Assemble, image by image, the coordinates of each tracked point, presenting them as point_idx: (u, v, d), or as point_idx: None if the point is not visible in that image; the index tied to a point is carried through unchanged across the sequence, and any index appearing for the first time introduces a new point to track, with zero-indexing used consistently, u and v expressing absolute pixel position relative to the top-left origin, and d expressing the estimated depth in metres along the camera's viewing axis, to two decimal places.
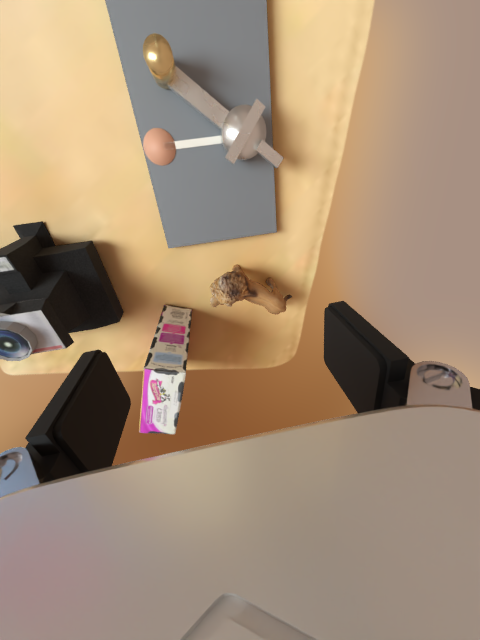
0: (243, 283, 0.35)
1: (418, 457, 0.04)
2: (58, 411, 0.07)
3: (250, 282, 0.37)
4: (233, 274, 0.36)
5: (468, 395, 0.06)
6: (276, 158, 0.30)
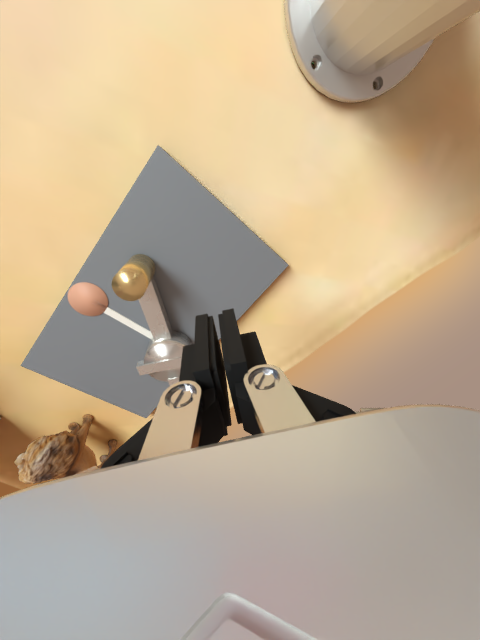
0: (67, 465, 0.30)
1: (418, 457, 0.04)
2: (208, 354, 0.08)
3: (79, 459, 0.32)
4: (66, 447, 0.30)
5: (288, 382, 0.07)
6: None
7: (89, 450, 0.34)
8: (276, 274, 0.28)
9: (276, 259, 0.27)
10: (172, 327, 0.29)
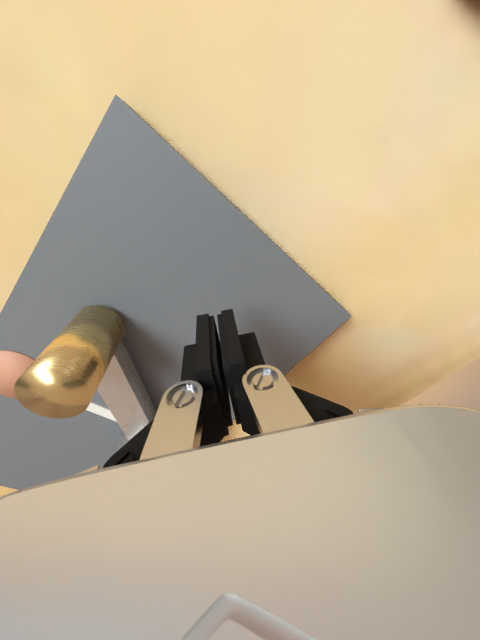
0: None
1: (418, 457, 0.04)
2: (209, 354, 0.08)
3: None
4: None
5: (286, 382, 0.07)
6: None
7: None
8: (330, 330, 0.17)
9: (333, 308, 0.16)
10: None
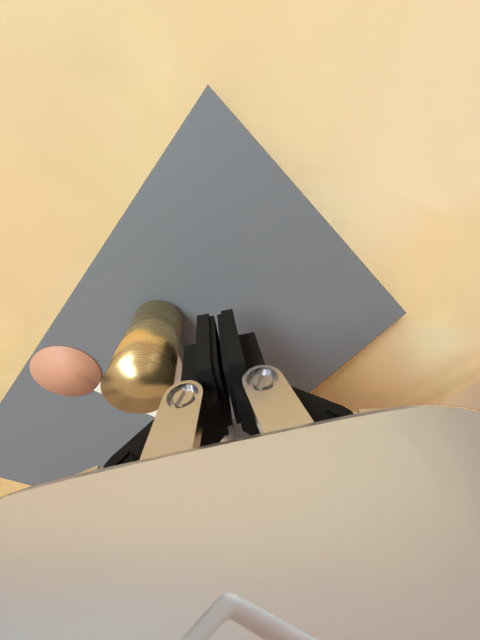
0: None
1: (418, 457, 0.04)
2: (210, 354, 0.08)
3: None
4: None
5: (286, 382, 0.07)
6: None
7: None
8: (383, 327, 0.17)
9: (389, 305, 0.16)
10: None
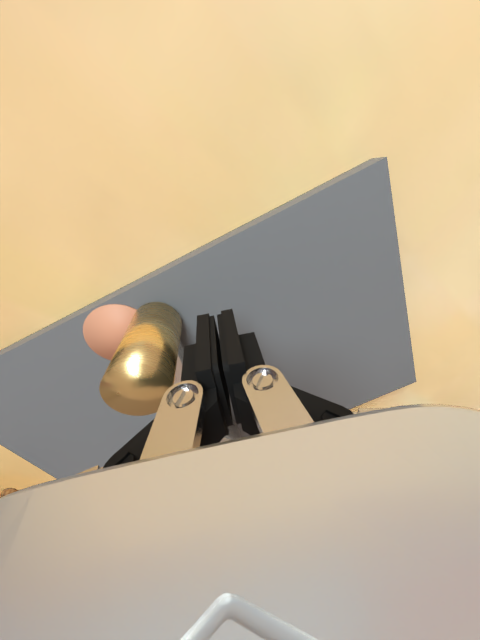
0: None
1: (418, 457, 0.04)
2: (210, 354, 0.08)
3: None
4: None
5: (286, 382, 0.07)
6: None
7: None
8: (395, 387, 0.20)
9: (409, 371, 0.19)
10: None
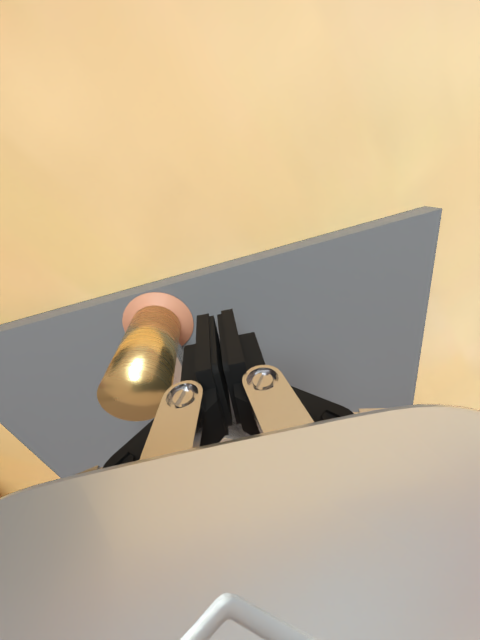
0: None
1: (418, 457, 0.04)
2: (210, 354, 0.08)
3: None
4: None
5: (286, 382, 0.07)
6: None
7: None
8: None
9: (408, 401, 0.20)
10: None
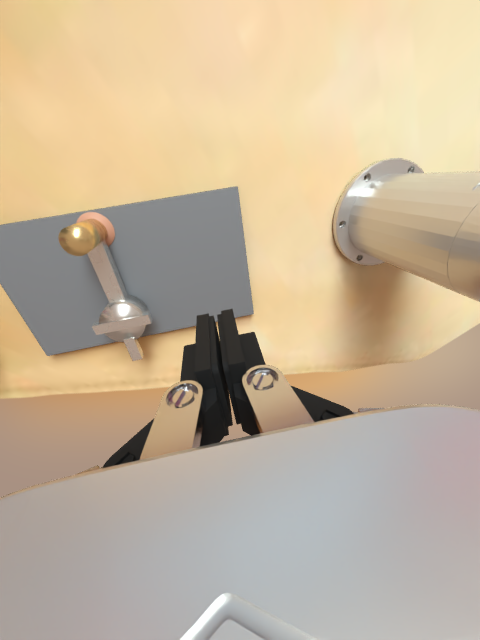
0: None
1: (418, 457, 0.04)
2: (209, 354, 0.08)
3: None
4: None
5: (286, 382, 0.07)
6: (136, 355, 0.32)
7: None
8: (242, 314, 0.36)
9: (249, 305, 0.35)
10: (143, 298, 0.32)
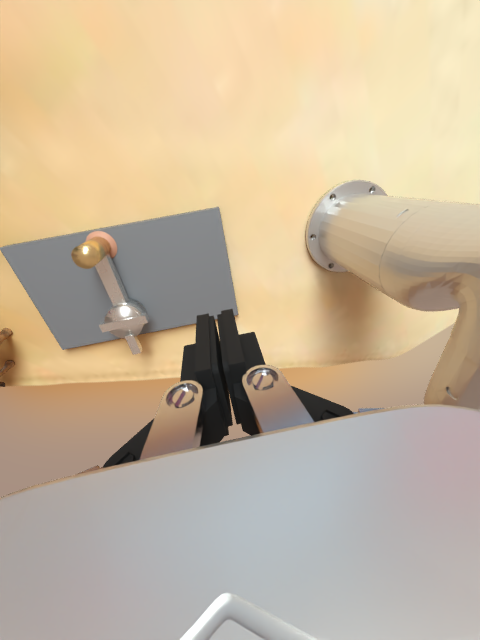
0: None
1: (418, 457, 0.04)
2: (209, 354, 0.08)
3: None
4: None
5: (286, 382, 0.07)
6: (135, 349, 0.38)
7: None
8: None
9: (234, 307, 0.40)
10: (141, 301, 0.38)
